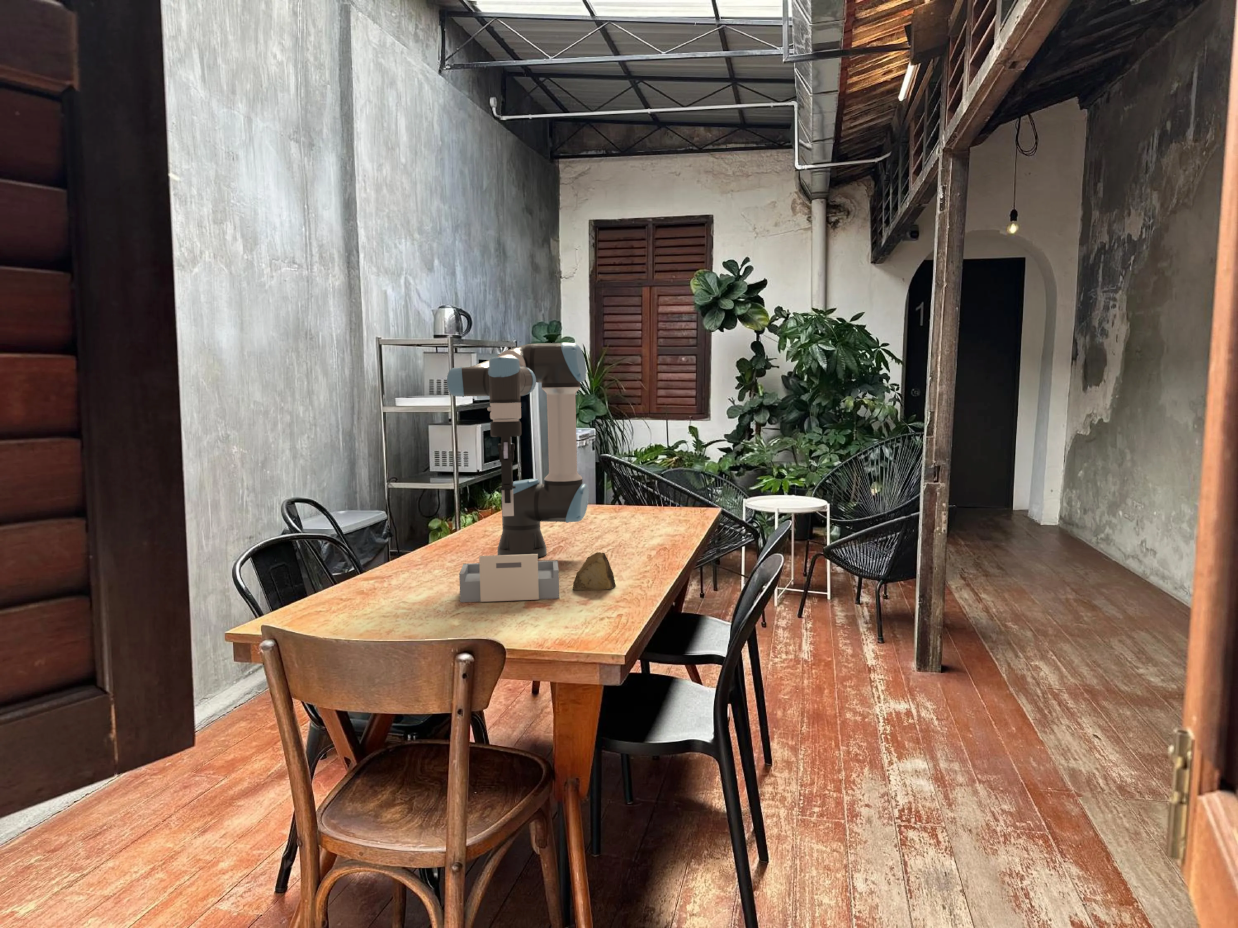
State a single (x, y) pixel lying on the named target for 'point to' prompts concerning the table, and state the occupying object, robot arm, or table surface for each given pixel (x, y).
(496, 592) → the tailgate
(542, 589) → the bed
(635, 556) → the table surface
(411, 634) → the table surface
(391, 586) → the table surface
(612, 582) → the rock
